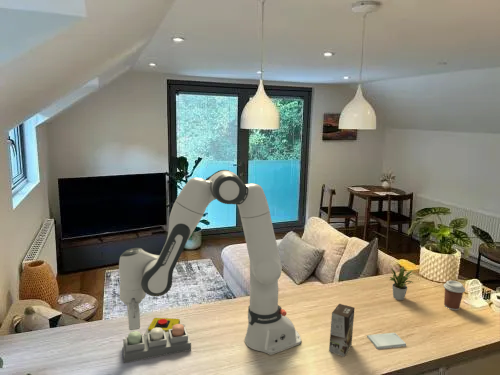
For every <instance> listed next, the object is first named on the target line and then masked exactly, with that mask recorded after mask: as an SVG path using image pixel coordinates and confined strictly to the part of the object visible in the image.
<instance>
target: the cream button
mask: <svg viewBox="0 0 500 375" xmlns="http://www.w3.org/2000/svg"><path fill="white" fill-rule="evenodd" d="M161 339H163V329H162V328H153V329H152V330H151V340H152V341H156V340H161Z"/></svg>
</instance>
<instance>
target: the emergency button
mask: <svg viewBox="0 0 500 375" xmlns="http://www.w3.org/2000/svg"><path fill="white" fill-rule="evenodd" d="M176 324H182V325H183V326H184V327H185V328H186V324H185V323H181V320H180V318H172V317H170V318H167V317H154V318H153V319H152V321H151V322H150V323H149V325H148V327H147V328H146V330H145V332H144V336H146V335H147V333H151V330H152V329H153V328H162V329H163V330H164V331H165V332H169V329H172V327H173V326H174V325H176Z"/></svg>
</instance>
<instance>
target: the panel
mask: <svg viewBox="0 0 500 375" xmlns="http://www.w3.org/2000/svg"><path fill="white" fill-rule="evenodd" d="M122 340H123V341H122V342H123V344H122V345H123V363H124V364H125V363H131V362H136V361H141V360H146V359H150V358H156V357H162V356H165V355H166V356H167V355H172V354H177V353H181V352H187V351H191V350H192V341H191V338H190V336H189V333H188V330H187V328H186V326H185V327H184V335H183V336H178V337H173V335H172V329H169V332H165V331H164V330H163V339H161V340H156V341H152V340H151V333H147V335H144V334H143V333H141V342H140V343H139V344H134V345H129V342H128V336H125V338H124V339H122Z"/></svg>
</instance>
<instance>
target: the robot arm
mask: <svg viewBox="0 0 500 375" xmlns="http://www.w3.org/2000/svg"><path fill="white" fill-rule="evenodd" d="M214 200H217V201H218V202H220V203H221V204H224V205H236V206H237V207H238V212H239V216H240V221H241V225H242V229H243V234H244V239H245V243H246V248H247V253H248V258H249V306H248V310H247V321H248V322H247V323H248V324H247V329H246V334H245V336H244V343H245V344H246V346H247V347H249V349H252V350H255V351H258V352H262V353H265V354H267V355H270V356H271V355H275V354H276V353H280V352H283V351H285V350H287V349H291V348H293V347H295V346H298V345H301V344H302V338H301V335H300V334H299V332H298V331H297V329H296V328H295V325H294V323H293V322H292V321H291V319H290V318H288V316H287V311H286V309H282V307H281V305H279V279H280V278H281V275H282V269H283V268H282V260H281V256H280V252H279V247H278V243H277V238H276V234H275V231H274V226H273V221H272V216H271V210H270V207H269V202H268V200H267V198H266V194H265V191H264V189H263V187H262V186H261V185H259V184H257V183H244V181H243V180H242V179H241V178H240V177H239V176H238V175H237V173H235V172H233V171H231V170H228V169H220V170H218V171H216V172H214V173H213V174H211V175H210V176H208V177H207V178H206V179H205V178H203V177H192V178H190V179H189V180H188V181H187V182H186V183H185V185H184V186H183V187H182V189H181V190H180V192H179V193H178V196H177V197H176V199H175V201H174V203H173V205H172V208H171V211H170V214H169V219H168V231H167V236H166V240H165V244H164V245H163V248H162V250H161V252H160V254H153V253H150V252H148V251H146V250H144V249H143V248H141V247H134V248H129V249H127V250H124V252H122V253H121V255H120V257H119V260H118V261H119V262H118V276H119V279H120V282H119V286H118V287H119V300H120V302H123V304H124V305H126V307H127V309H126V310H127V321H128V322H127V323H128V330H129V331H134V330H135V331H138V330H139V329H140V328H141V314H140V313H141V312H140V303H142V302H143V300H144V299H145V298H146V294H147V295H148V296H151V297H161V296H164V295H166V294H167V293H168V292H169V291H171V289H172V287H173V273H174V270H175V268H176V265H177V263H178V261H179V259H180V257H181V255H182V253H183V250H184V248H185V246H186V244H187V243H188V241H189V239H190V238H191V235H193V232H194V231H195V229H196V227H197V226H198V225H199V223H200V221H201V219H202V218H203V216H204V214H205V212H206V209H207V207H208V206H209V205H210V203H211V202H213V201H214Z"/></svg>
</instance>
